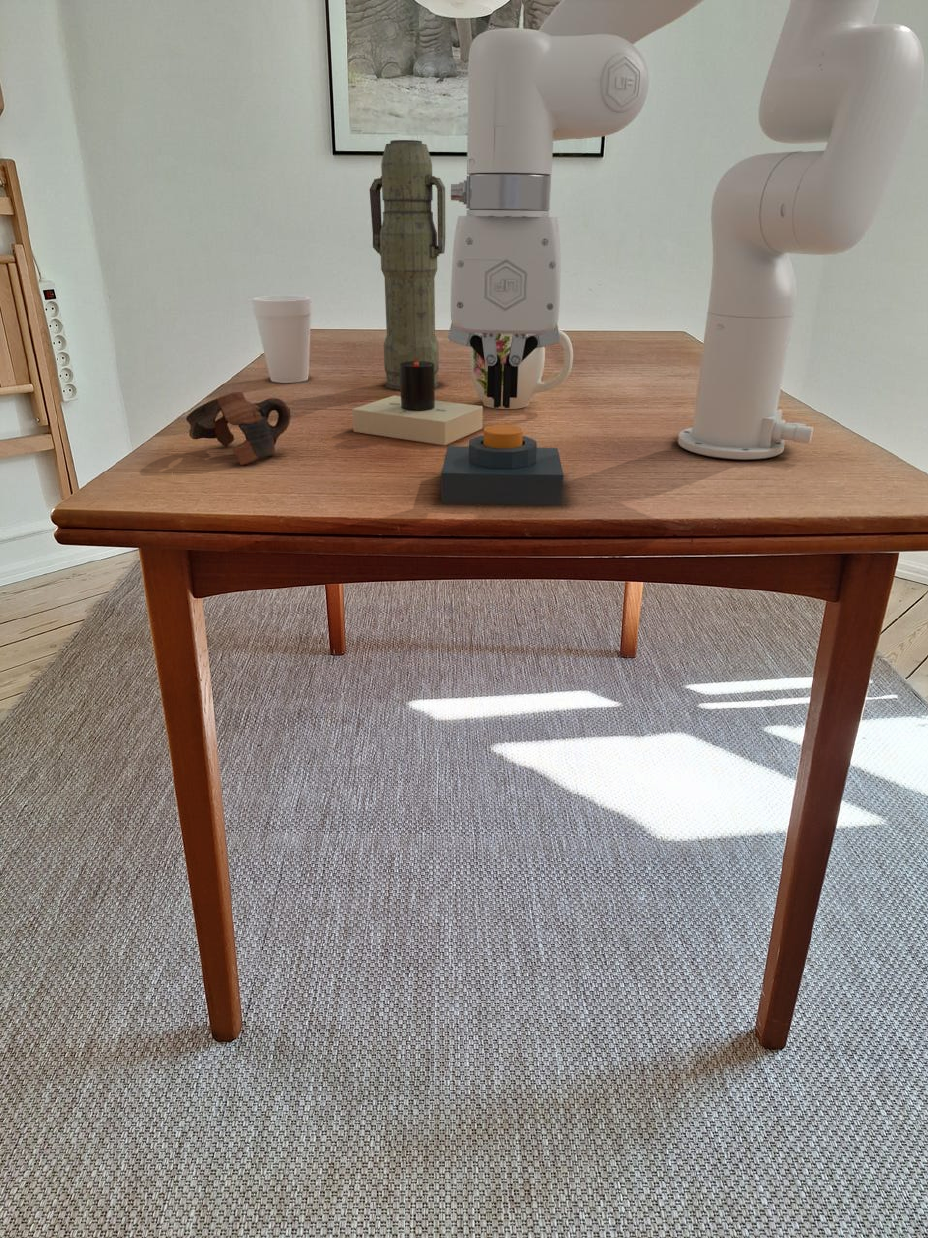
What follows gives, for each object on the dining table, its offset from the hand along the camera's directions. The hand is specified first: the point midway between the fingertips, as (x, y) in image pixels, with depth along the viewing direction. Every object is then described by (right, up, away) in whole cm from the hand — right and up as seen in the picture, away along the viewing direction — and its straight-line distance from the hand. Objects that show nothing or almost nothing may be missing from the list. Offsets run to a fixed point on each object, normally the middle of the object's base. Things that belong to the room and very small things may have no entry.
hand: (501, 404), depth 81 cm
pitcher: (+3, +10, +40) cm, 42 cm away
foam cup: (-34, +19, +58) cm, 70 cm away
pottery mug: (-30, -2, +16) cm, 34 cm away
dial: (-10, +6, +25) cm, 28 cm away
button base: (0, -8, +4) cm, 9 cm away
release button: (0, -4, +2) cm, 4 cm away
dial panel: (-10, +4, +26) cm, 28 cm away
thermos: (-12, +17, +53) cm, 57 cm away
